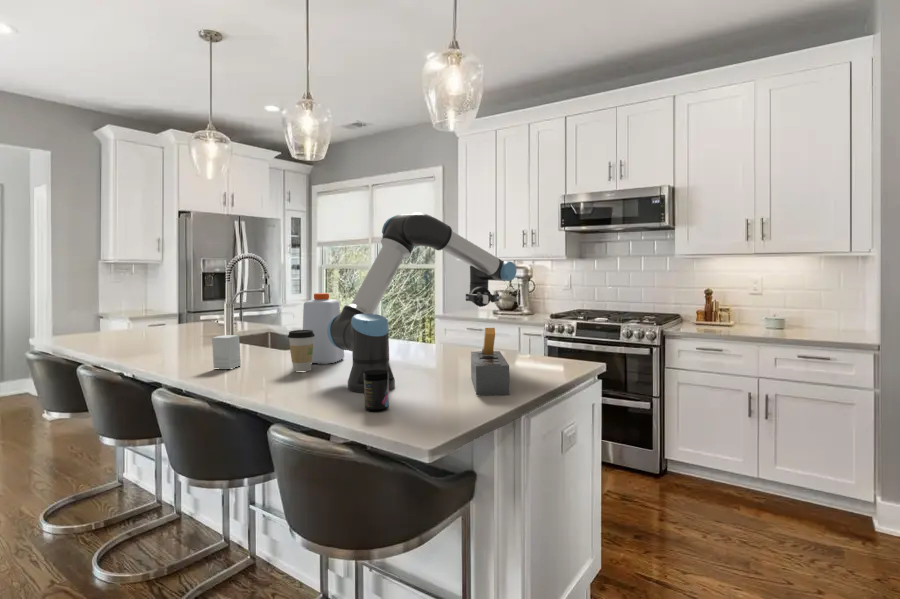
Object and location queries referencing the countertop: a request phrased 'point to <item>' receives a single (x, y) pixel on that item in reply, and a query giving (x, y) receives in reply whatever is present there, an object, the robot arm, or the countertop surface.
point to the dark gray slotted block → (489, 373)
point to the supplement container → (376, 390)
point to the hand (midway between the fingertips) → (486, 299)
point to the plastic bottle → (322, 327)
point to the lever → (488, 341)
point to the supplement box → (226, 351)
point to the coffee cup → (301, 349)
